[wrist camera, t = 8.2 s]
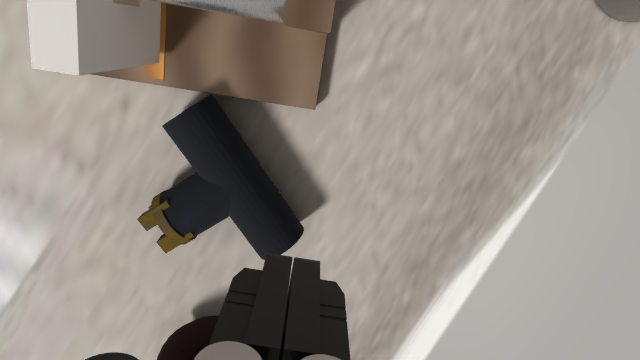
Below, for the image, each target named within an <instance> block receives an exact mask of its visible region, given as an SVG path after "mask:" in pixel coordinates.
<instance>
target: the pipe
mask: <svg viewBox="0 0 640 360" xmlns="http://www.w3.org/2000/svg"><path fill="white" fill-rule="evenodd" d="M218 318H219V316H214V317H205V318H201V319H198V320H195V321H192V322H190V323H188V324H186V325H184V326H182V327H181V328H179V329H178V330H176V331H175V332H174V333H173V334H172V335H171V336H170V337H169V338H168V339H167V341H166V342H165V344H164V345H163V346H162V348H161V351H160V353H159V355H158V358H157V360H194V359H195V357H196V355H197V354H198V353H199V352H200V351H201V350H203V349H204V348H206V347H207V346H208V345H209V343H210V340H211V337H212V335H213V332H214V329H215V326H216V323H217V321H218Z"/></svg>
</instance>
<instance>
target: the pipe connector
mask: <svg viewBox="0 0 640 360" xmlns="http://www.w3.org/2000/svg"><path fill="white" fill-rule="evenodd" d="M162 127H163V128H164V129H165V131H166V132H167V133H168V135H169V136H170V137H171V139H172V140H173V141H174V143H175V144H176V145H177V147H178V148H179V149H180V151H181V152H182V153H183V155H184V156H185V157H186V159H187V160H188V161H189V163H190V164H191V165H192V167H193V168H194V169H195V171H196V172H197V173H195V174H194V175H192V176H190V177H189V178H187V179H186V180H184V181H182V182H181V183H179V184H178V185H176V186H174V187H173V188H171V189H169V190H166V191H163V192H161V193H160V194H158V195H157V196H155V197H154V198H153V200H152V205H151V206H150V207H149V210H148V211H146V212H144V213H143V214H142V215H141V216H140V217H139V218H138V219H137V220H138V221H139V222H140V223H141V225H142V226H143V227H144V228H145V229H146V231H148V230H149V229H151V228H153V227H154V226H156V225H158V226H159V228H160V229H161V230H162V232H163V233H164V234H163V235H162V236H161V237H160V238H159V239H158V241H157V242H156V243H157V244H158V245H159V246H160V247H161V248H162V250H163V251H164V252H165V253H167V252H169V251H171V250H172V249H174V248H176V247H177V246H179V245H181V244H186V243H188V242H190V241H191V240H193V239H195V238H196V237H197V235H198V234H200V233H202V232H204V231H205V230H207V229H209V228H210V227H212V226H214V225H215V224H217V223H219V222H220V221H222V220H224V219H225V218H227V217H229V216H230V217H231V219H232V220H233V221H234V223H235V224H236V225H237V227H238V228H239V229H240V231H241V232H242V233H243V235H244V236H245V237H246V239H247V240H248V241H249V243H250V244H251V245H252V247H253V248H254V249H255V251H256V252H257V253H258V255H259V256H260V257H261V258H262V259H264V260H265V259H266V255H267V253H270V254H277V255H281V254H282V253H284V252H285V251H287V250H288V249H290V248H291V247H292V246H293V245H294V244H295V243H296V242H297V241H298V240H299V239H300V237H301V236H302V234H303V231H304V228H303V226H302V225H301V223H300V222H299V220H298V219H297V218H296V216H295V215H294V213H293V212H292V210H291V209H290V207H289V206H288V204H287V203H286V202H285V200H284V199H283V197H282V196H281V194H280V193H279V191H278V190H277V189H276V187H275V186H274V184H273V183H272V181H271V180H270V178H269V177H268V175H267V174H266V173H265V171H264V170H263V168H262V167H261V165H260V164H259V162H258V161H257V159H256V158H255V157H254V155H253V154H252V152H251V151H250V149H249V148H248V146H247V145H246V144H245V142H244V141H243V139H242V138H241V136H240V135H239V133H238V132H237V130H236V129H235V128H234V126H233V125H232V123H231V122H230V120H229V119H228V117H227V116H226V114H225V113H224V112H223V110H222V109H221V107H220V106H219V104H218V103H217V101H216V100H215V99H214V97H213V96H212V94H211V95H209V96H208V97H206V98H204V99H203V100H201V101H200V102H198V103H196V104H195V105H193V106H192V107H190V108H188V109H187V110H185V111H184V112H182V113H181V114H179V115H178V116H176V117H175V118H173V119H172V120H170V121H169V122H167V123H166V124H164V125H163V126H162Z"/></svg>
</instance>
